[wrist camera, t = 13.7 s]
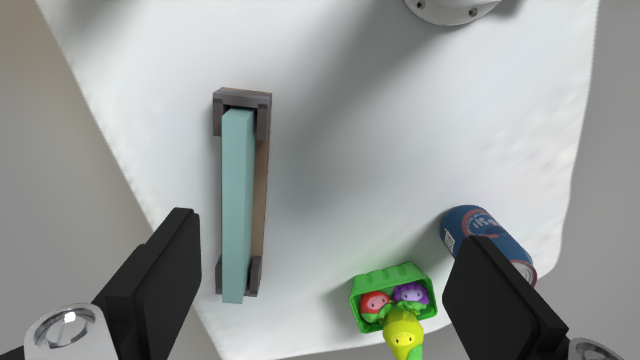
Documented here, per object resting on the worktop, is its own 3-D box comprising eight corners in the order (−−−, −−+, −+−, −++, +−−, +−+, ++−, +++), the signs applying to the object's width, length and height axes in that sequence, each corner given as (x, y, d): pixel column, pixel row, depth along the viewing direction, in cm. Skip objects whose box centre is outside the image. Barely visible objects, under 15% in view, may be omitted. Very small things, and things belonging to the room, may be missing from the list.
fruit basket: (418, 252, 46) (449, 313, 36) (428, 295, 50) (458, 363, 40) (343, 271, 47) (352, 336, 37) (358, 312, 51) (370, 382, 41)
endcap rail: (272, 93, 36) (267, 99, 33) (261, 276, 47) (256, 296, 44) (222, 87, 36) (212, 93, 32) (223, 273, 47) (215, 293, 43)
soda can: (490, 199, 43) (551, 255, 32) (480, 242, 46) (533, 306, 35) (439, 201, 43) (483, 257, 32) (433, 243, 46) (471, 308, 35)
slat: (235, 104, 36) (221, 116, 31) (256, 106, 36) (247, 119, 31) (233, 270, 46) (222, 302, 40) (249, 272, 46) (241, 304, 40)
